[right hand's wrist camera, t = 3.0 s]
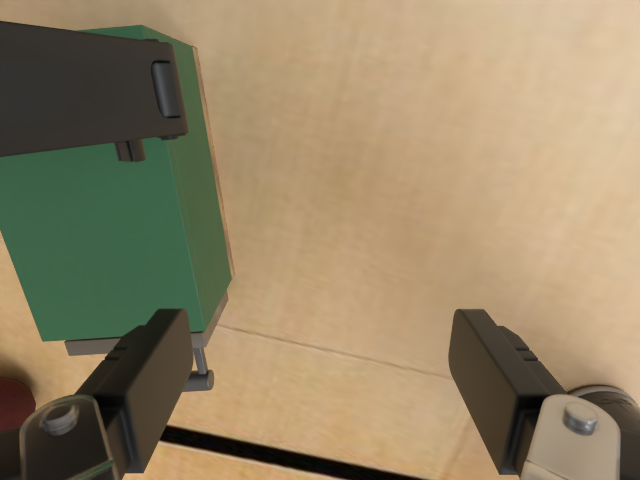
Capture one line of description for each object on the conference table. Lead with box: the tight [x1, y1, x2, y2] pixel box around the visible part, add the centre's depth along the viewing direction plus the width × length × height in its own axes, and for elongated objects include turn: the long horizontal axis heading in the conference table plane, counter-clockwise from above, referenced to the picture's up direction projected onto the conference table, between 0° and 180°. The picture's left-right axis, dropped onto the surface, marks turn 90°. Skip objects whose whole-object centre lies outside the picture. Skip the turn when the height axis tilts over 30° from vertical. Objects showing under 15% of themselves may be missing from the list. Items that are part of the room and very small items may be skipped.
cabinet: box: [0, 25, 234, 342], centre depth 26 cm, size 18×11×9 cm, turn 4°
